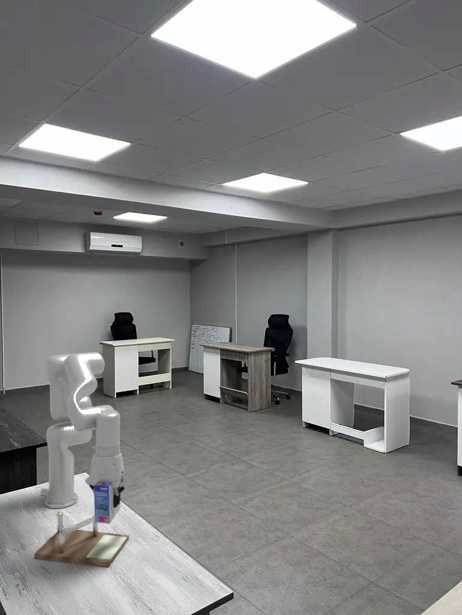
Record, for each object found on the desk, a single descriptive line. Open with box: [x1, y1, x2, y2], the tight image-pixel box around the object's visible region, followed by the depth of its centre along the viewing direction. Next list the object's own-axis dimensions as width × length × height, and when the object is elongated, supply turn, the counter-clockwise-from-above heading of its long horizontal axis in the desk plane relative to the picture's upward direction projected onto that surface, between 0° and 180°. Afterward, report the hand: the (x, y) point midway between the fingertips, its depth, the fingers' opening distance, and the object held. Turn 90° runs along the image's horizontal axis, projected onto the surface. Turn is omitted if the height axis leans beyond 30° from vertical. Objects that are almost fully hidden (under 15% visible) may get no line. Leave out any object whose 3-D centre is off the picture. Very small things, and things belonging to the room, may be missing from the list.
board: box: [34, 527, 130, 568], centre depth 151 cm, size 25×16×2 cm, turn 81°
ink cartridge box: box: [93, 482, 121, 524], centre depth 149 cm, size 10×6×14 cm, turn 174°
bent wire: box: [56, 511, 99, 553], centre depth 152 cm, size 15×13×7 cm
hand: (107, 504), depth 149 cm, fingers closed on ink cartridge box, 5 cm apart
